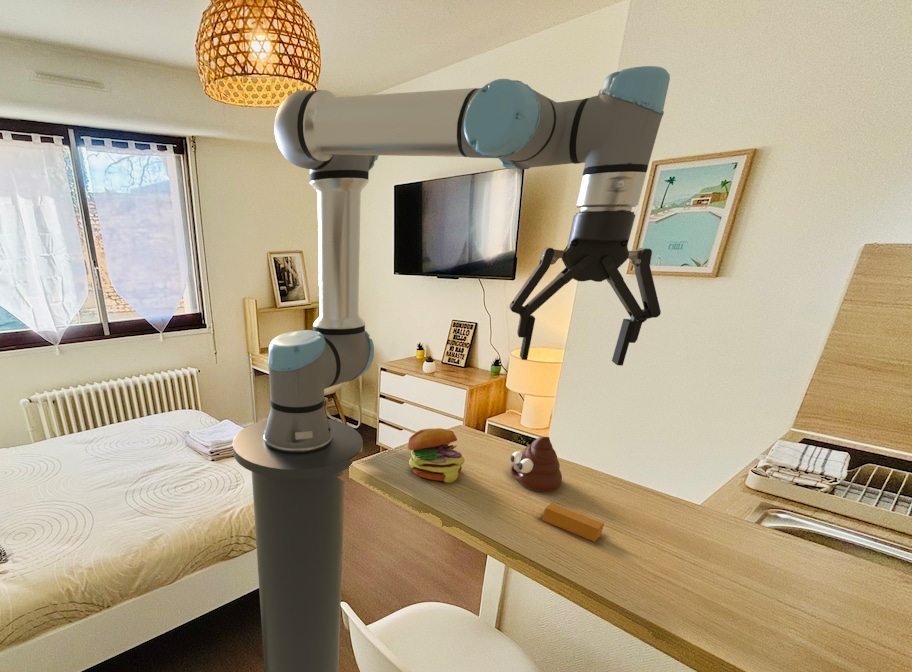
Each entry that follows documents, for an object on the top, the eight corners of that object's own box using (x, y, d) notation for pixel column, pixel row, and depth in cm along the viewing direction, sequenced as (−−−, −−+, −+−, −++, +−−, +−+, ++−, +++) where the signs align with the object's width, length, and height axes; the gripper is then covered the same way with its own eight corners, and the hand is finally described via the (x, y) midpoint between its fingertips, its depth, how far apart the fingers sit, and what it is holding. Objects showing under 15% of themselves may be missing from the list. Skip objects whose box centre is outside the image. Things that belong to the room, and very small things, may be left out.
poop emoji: (570, 492, 84) (583, 445, 80) (524, 494, 83) (535, 447, 79) (540, 467, 93) (551, 423, 89) (499, 468, 92) (508, 425, 88)
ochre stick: (541, 520, 76) (545, 507, 75) (548, 514, 78) (551, 502, 77) (594, 542, 71) (598, 529, 70) (600, 535, 72) (604, 523, 71)
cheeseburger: (431, 490, 85) (428, 436, 82) (398, 477, 94) (394, 429, 92) (474, 478, 88) (472, 426, 86) (438, 467, 98) (436, 420, 96)
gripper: (512, 210, 64) (488, 361, 74) (724, 208, 59) (668, 372, 68) (506, 212, 71) (484, 350, 80) (696, 210, 65) (649, 359, 74)
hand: (569, 360), depth 74 cm, fingers open, 13 cm apart
